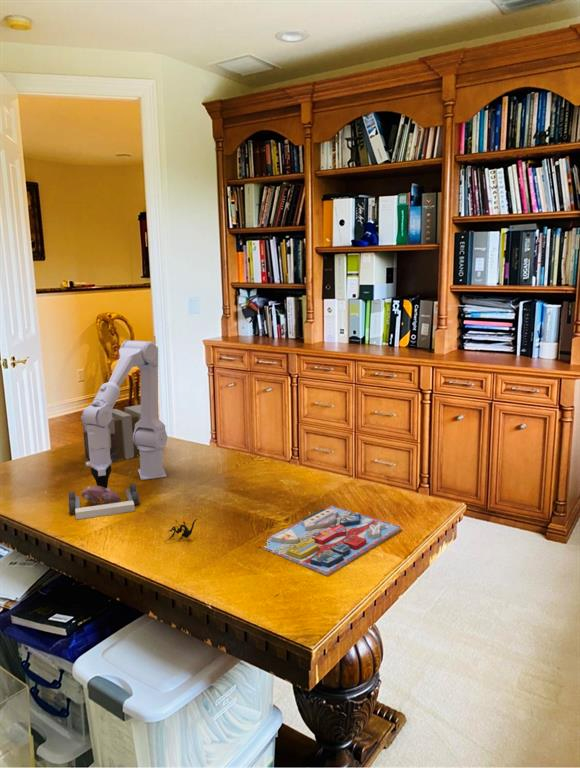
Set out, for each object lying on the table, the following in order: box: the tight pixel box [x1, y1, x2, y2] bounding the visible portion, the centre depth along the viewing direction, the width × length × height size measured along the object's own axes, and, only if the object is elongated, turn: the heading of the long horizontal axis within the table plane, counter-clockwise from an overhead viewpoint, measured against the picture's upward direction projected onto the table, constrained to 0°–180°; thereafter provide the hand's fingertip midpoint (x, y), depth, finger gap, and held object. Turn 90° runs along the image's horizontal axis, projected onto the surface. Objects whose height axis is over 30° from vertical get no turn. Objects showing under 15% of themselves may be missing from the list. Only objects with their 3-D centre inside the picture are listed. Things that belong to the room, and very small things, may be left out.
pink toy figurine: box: [81, 485, 121, 505], centre depth 174 cm, size 10×5×7 cm, turn 77°
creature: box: [165, 518, 198, 543], centre depth 152 cm, size 8×5×8 cm
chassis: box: [68, 483, 140, 521], centre depth 173 cm, size 14×19×4 cm
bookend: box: [82, 404, 141, 463], centre depth 217 cm, size 16×25×16 cm, turn 130°
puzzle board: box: [262, 505, 402, 577], centre depth 151 cm, size 30×23×3 cm
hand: (102, 491), depth 178 cm, fingers closed
